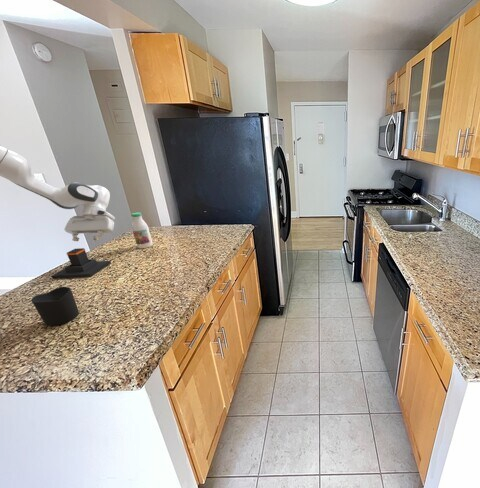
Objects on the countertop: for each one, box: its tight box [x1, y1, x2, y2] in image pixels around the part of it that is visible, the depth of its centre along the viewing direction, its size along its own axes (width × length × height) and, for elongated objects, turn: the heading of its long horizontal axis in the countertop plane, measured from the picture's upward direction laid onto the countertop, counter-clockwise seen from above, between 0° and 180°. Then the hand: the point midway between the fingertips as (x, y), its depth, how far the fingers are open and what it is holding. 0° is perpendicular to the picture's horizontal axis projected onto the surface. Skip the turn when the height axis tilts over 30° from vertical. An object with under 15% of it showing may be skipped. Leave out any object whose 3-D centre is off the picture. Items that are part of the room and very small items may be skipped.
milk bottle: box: [130, 212, 154, 249], centre depth 148 cm, size 8×8×20 cm
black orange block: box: [66, 247, 90, 267], centre depth 122 cm, size 4×5×9 cm
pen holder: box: [31, 286, 80, 327], centre depth 89 cm, size 9×9×10 cm
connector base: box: [51, 258, 112, 280], centre depth 123 cm, size 16×14×4 cm
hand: (85, 240), depth 126 cm, fingers open, 8 cm apart
